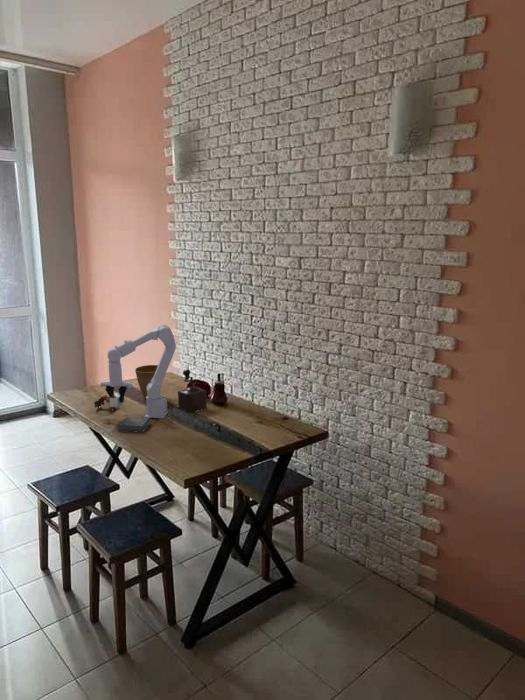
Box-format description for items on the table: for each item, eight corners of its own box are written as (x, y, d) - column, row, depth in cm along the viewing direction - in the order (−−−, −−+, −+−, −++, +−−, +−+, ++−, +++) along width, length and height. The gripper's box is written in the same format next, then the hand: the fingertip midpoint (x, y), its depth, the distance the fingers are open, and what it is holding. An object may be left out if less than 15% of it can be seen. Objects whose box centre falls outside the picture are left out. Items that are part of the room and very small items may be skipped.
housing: (116, 401, 260) (115, 392, 259) (124, 402, 259) (123, 392, 258) (110, 407, 252) (109, 397, 251) (118, 407, 252) (117, 397, 251)
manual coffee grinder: (208, 407, 272) (207, 373, 268) (191, 413, 264) (190, 377, 260) (188, 401, 282) (187, 368, 278) (171, 406, 274) (170, 372, 270)
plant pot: (135, 394, 294) (134, 366, 291) (163, 392, 299) (161, 364, 295) (137, 402, 280) (136, 372, 277) (166, 399, 285) (165, 370, 281)
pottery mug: (108, 414, 264) (98, 400, 262) (97, 419, 270) (88, 405, 268) (124, 402, 273) (115, 388, 272) (114, 406, 279) (105, 393, 277)
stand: (150, 423, 250) (149, 417, 249) (142, 432, 239) (141, 426, 239) (127, 422, 251) (126, 416, 250) (118, 431, 240) (118, 425, 240)
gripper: (97, 375, 249) (99, 403, 252) (127, 376, 248) (128, 404, 251) (103, 371, 256) (105, 399, 259) (132, 372, 254) (134, 400, 257)
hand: (117, 401), depth 255 cm, fingers closed on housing, 4 cm apart
